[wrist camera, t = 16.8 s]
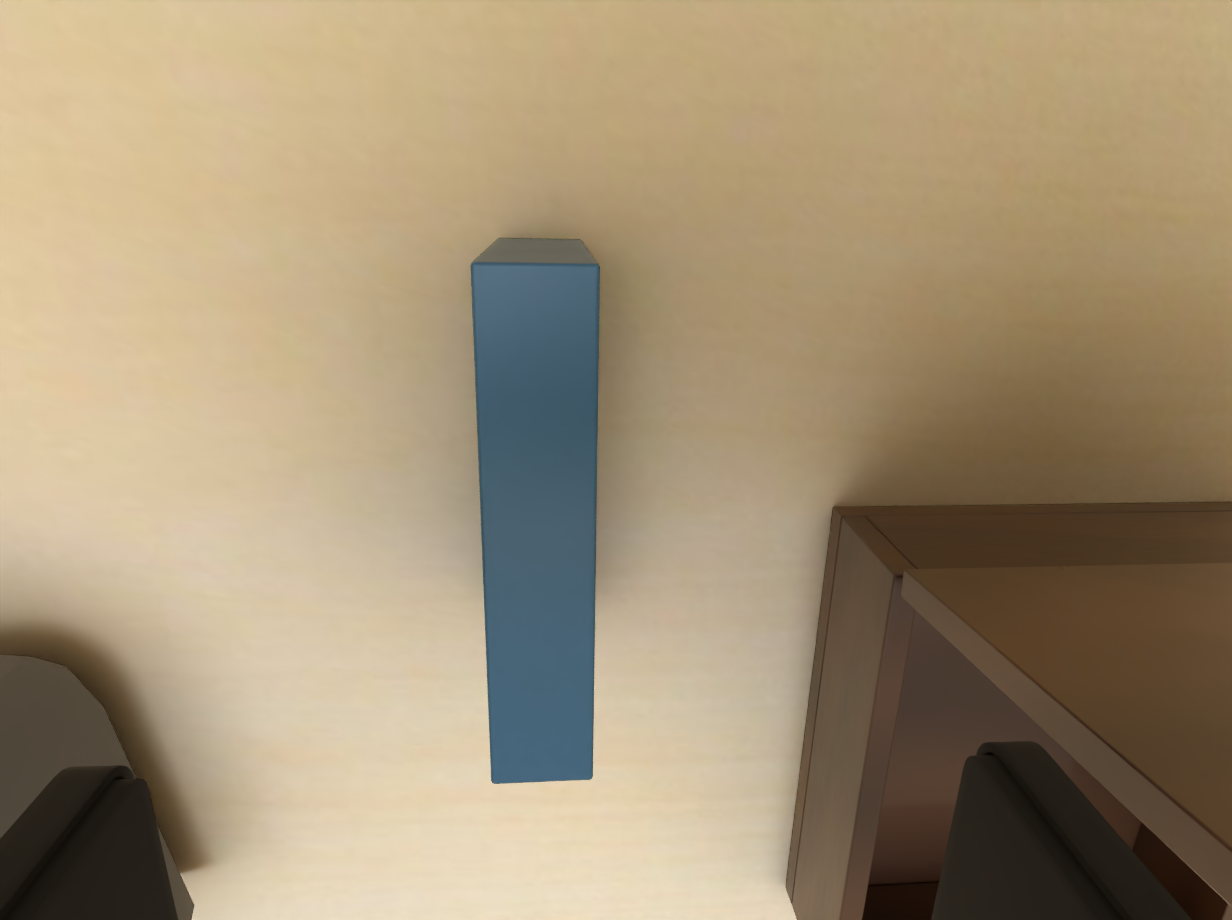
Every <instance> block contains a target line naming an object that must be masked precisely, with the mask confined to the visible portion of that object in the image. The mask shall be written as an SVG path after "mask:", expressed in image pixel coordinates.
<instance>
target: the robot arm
mask: <svg viewBox="0 0 1232 920" xmlns="http://www.w3.org/2000/svg"><path fill="white" fill-rule="evenodd" d="M0 920H178V916H177V912H176V908H175V903H174V899H173V894H172V890H171V885H170V881H169V876H168V872H167V867H166V863H165V859H164V854H163V850H162V845H161V841H160V836H159V832H158V827H157V823H156V818H155V814H154V810H153V805H152V801H151V796H150V792H149V788H148V785H147V783H146V782H145V781H144V780H143V779H135V778H134V775H133V773H132V771H131V770H130V769H129V768H128V767H127V766H122V765H114V766H76V767H68V768H66V769H63V770H61V771H60V772H59V773H58V774H57V775H56V776H55V777H54V778H53V779H52V780H51V781H50V782H49V783H48V785H47V786H46V787H45V788H44V789H43V790H42V791H41V793H40V794H39V795H38V796H37V797H36V798H35V799H34V801H33V802H32V803H31V804H30V805H29V806H28V807H27V809H26V810H25V811H24V812H23V813H22V814H21V815H20V817H19V818H18V819H17V820H16V821H15V822H14V823H13V825H12V826H11V827H10V828H9V829H8V830H7V832H6V833H5V834H4V835H3V836H2V837H1V838H0ZM931 920H1192V919H1191V918H1190V917H1189V915H1188V914H1187V913H1186V912H1185V911H1184V910H1183V909H1182V907H1181V906H1180V905H1179V904H1178V903H1177V902H1176V900H1175V899H1174V898H1173V897H1172V896H1171V895H1170V894H1169V892H1168V891H1167V890H1166V889H1165V888H1164V887H1163V885H1162V884H1161V883H1160V882H1159V881H1158V880H1157V878H1156V877H1155V876H1154V875H1153V874H1152V873H1151V872H1150V870H1149V869H1148V868H1147V867H1146V866H1145V865H1144V863H1143V862H1142V861H1141V860H1140V859H1139V858H1138V857H1137V855H1136V854H1135V853H1134V852H1133V851H1132V850H1131V848H1130V847H1129V846H1128V845H1127V844H1126V843H1125V841H1124V840H1123V839H1122V838H1121V837H1120V836H1119V835H1118V833H1117V832H1116V831H1115V830H1114V829H1113V828H1112V826H1111V825H1110V824H1109V823H1108V822H1107V821H1106V820H1105V818H1104V817H1103V816H1102V815H1101V814H1100V813H1099V811H1098V810H1097V809H1096V808H1095V807H1094V806H1093V804H1092V803H1091V802H1090V801H1089V800H1088V799H1087V798H1086V796H1085V795H1084V794H1083V793H1082V792H1081V791H1080V789H1079V788H1078V787H1077V786H1076V785H1075V784H1074V782H1073V781H1072V780H1071V779H1070V778H1069V777H1068V776H1067V774H1066V773H1065V772H1064V771H1063V770H1062V769H1061V767H1060V766H1059V765H1058V764H1057V763H1056V762H1055V761H1054V759H1053V758H1052V757H1051V756H1050V755H1049V754H1048V752H1047V751H1046V750H1045V749H1044V748H1043V747H1042V746H1040V745H1039V744H1038V743H1035V742H1033V741H1012V742H986V743H983V744H982V745H981V746H980V747H979V748H978V750H977V753H976V756H969V757H968V758H967V759H966V761H965V764H964V767H963V772H962V776H961V781H960V786H959V791H958V795H957V800H956V805H955V810H954V814H953V819H952V824H951V828H950V833H949V838H948V843H947V847H946V852H945V857H944V862H943V866H942V871H941V876H940V880H939V885H938V890H937V895H936V899H935V904H934V909H933V914H932V918H931Z"/></svg>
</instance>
